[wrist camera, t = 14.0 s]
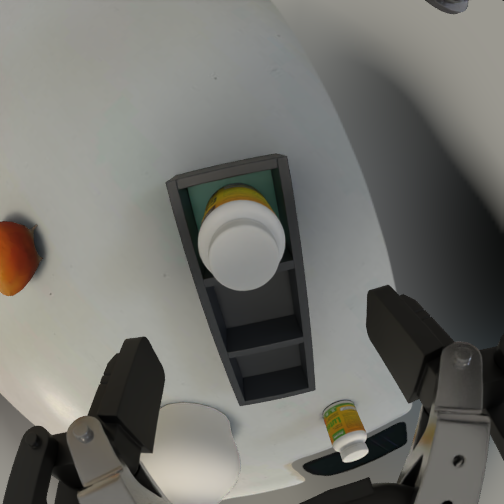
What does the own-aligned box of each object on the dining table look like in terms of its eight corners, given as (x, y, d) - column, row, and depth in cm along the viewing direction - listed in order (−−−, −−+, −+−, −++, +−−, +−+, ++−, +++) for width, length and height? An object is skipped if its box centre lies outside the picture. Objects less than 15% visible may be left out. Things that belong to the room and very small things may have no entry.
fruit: (62, 276, 24) (5, 312, 18) (40, 268, 28) (-7, 297, 22) (39, 203, 21) (-26, 233, 15) (21, 208, 25) (-30, 233, 18)
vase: (256, 419, 37) (273, 535, 19) (204, 450, 41) (206, 545, 22) (175, 384, 33) (161, 524, 15) (133, 422, 36) (115, 526, 18)
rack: (276, 153, 24) (287, 155, 20) (307, 365, 34) (315, 390, 30) (175, 175, 24) (165, 182, 20) (237, 380, 34) (239, 406, 29)
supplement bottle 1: (210, 177, 23) (200, 202, 14) (273, 188, 24) (305, 219, 15) (201, 238, 25) (189, 297, 16) (261, 246, 26) (281, 307, 17)
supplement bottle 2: (330, 399, 37) (349, 450, 28) (358, 398, 38) (379, 444, 29) (316, 419, 39) (331, 466, 30) (344, 417, 40) (361, 461, 31)
